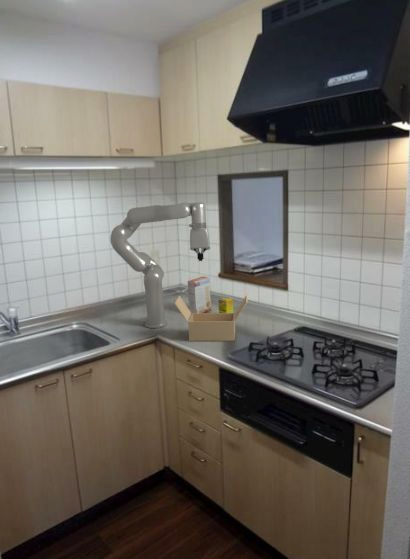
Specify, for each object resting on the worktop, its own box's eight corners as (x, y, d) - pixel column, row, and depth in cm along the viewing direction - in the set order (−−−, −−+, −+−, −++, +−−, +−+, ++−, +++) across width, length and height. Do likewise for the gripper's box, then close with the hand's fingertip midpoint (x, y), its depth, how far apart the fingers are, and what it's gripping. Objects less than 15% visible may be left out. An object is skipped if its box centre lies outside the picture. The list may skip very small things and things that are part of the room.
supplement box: (218, 318, 243) (218, 299, 240) (225, 315, 247) (224, 297, 245) (226, 319, 239) (226, 301, 236) (233, 317, 243) (232, 298, 241)
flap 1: (179, 295, 217) (178, 296, 218) (174, 302, 204) (174, 303, 204) (191, 313, 219) (190, 313, 219) (187, 321, 206) (186, 321, 206)
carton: (189, 341, 208) (188, 322, 205) (193, 331, 221) (192, 313, 219) (234, 341, 205) (233, 321, 203) (235, 331, 219) (234, 313, 217)
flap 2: (246, 302, 201) (247, 302, 201) (246, 294, 214) (247, 295, 214) (234, 320, 203) (235, 321, 203) (235, 312, 216) (236, 313, 216)
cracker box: (203, 309, 261) (202, 275, 257) (211, 310, 258) (210, 277, 253) (188, 314, 251) (187, 280, 246) (196, 316, 247) (194, 281, 243)
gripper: (183, 227, 220) (185, 262, 224) (212, 226, 218) (214, 261, 222) (186, 226, 227) (187, 259, 231) (213, 225, 226) (215, 259, 230)
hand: (200, 260), depth 227 cm, fingers closed
